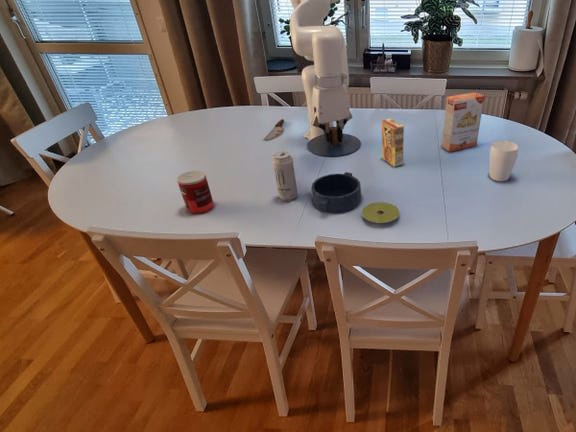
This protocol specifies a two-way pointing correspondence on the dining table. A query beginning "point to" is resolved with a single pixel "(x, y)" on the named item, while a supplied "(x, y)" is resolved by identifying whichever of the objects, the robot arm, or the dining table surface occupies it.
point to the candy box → (392, 142)
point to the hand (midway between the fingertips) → (334, 141)
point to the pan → (336, 193)
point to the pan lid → (334, 145)
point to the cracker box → (462, 121)
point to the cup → (502, 159)
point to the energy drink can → (285, 176)
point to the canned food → (195, 192)
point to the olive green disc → (380, 212)
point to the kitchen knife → (275, 131)
